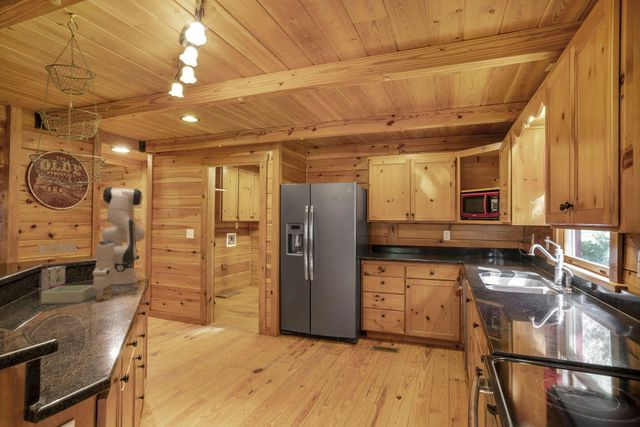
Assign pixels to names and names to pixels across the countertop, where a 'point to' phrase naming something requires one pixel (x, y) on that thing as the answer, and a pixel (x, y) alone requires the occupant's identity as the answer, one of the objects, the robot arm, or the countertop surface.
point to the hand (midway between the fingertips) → (104, 295)
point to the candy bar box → (53, 277)
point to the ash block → (105, 294)
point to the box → (67, 294)
